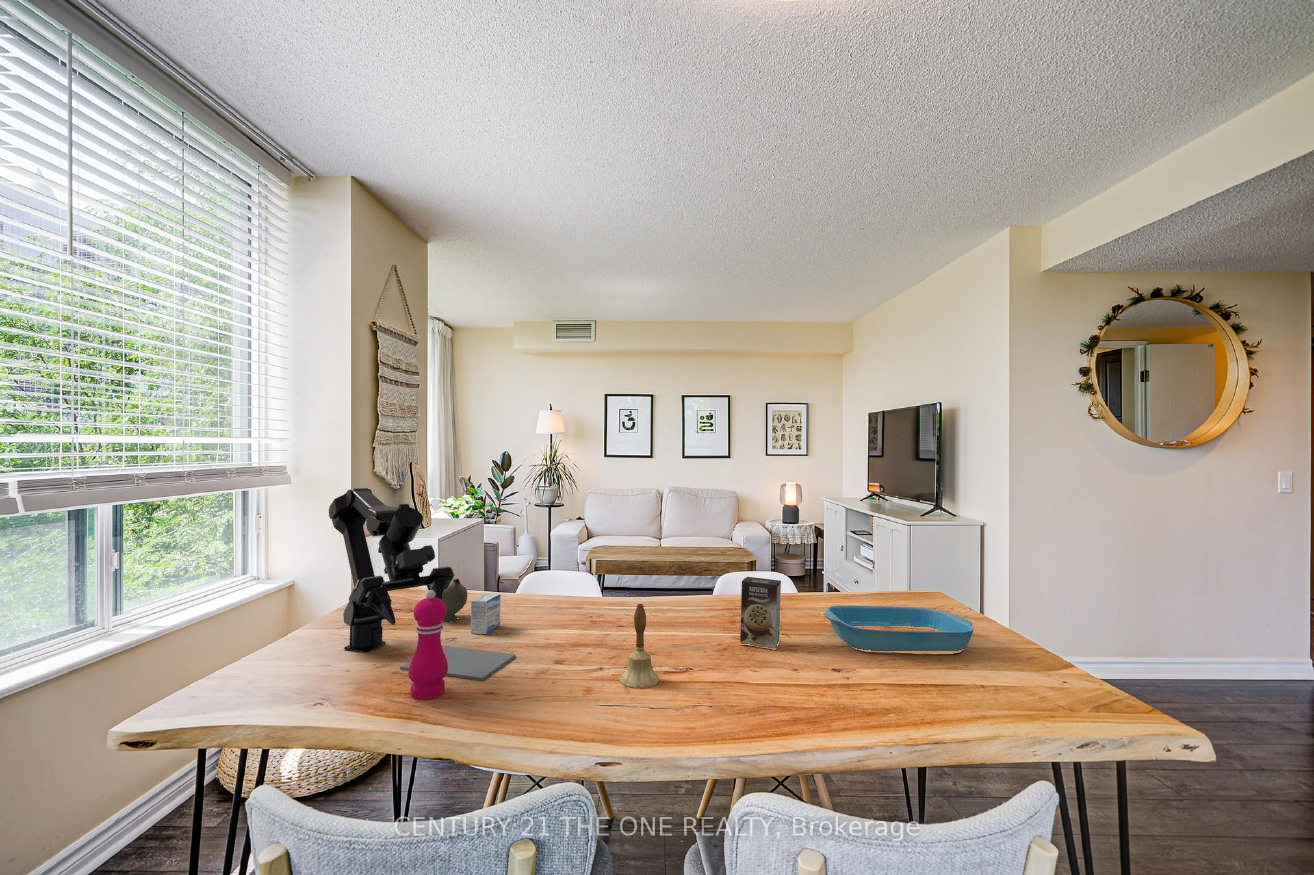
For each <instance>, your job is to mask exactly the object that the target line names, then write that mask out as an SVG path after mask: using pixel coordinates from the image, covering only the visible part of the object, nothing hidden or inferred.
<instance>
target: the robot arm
mask: <svg viewBox="0 0 1314 875" xmlns="http://www.w3.org/2000/svg"><path fill="white" fill-rule="evenodd" d="M328 517H329V519H330V520H331V522H332V525H333V528H334V529H336V531H338V532H339V533H340V534H341V535H342V536H343V541H344V546H345V550H346V554H347V558H348V559H347V560H348V564H349V569H350V573H351V577H352V583H353V588H352V590H351V593H350V594H349V597H348V603H347V605H346V607H345V609H344V611H343V613H342V614H343V616H342V617H343V623H344V624H346V625H348V626H349V644H348V645H346V646H344V648H343V649H344V650H345V651H352V652H353V651H355V652H362V653H368V652H370V651H372V650H375V649H377V648H379V647H381V646H383V645H385V644H386V643H387V642H386V640H383V629H384V628H383V626H382V624H383V623H382V621H384V620H386V621H387V622H389V624H390V625H391V626H395V624H396V618H395V613H394V611H393V608H392V607H393V606H392V599H391V596H390V594H389V592H391V591H398V590H399V591H400V590H407V589H412V588H413V589H415V588H419V587H424V586H426V588H427V591H429V590H433V591H434V592H435V598H439V599H441V600H442V593H443V591H444V590H445V589H447V588H448V586H449V584H450V582H451V581H452V579H454V577H455V572H454V569H453V568H452V567H451V566H441V567H439V566H438V567H434V568H432V570H431V571H430V573H429V575H422V576H421V575H420V574H421V573H422V574H423V571H424V566H425V565H428V563H430V562H432V561H434V560H435V558H436V553H435V550H434V548H433V545H432V544H431V545H430V544H429V545H424V546H423V547H421V548H413V549H411V546H410V542H413V541H414V539H415V537H416V535H417V533H418V532H419V529H420V527H421V525H422V523H423V521H424V517H423V513H421V512H420V511H418V510H417V509H416V508H413V507H410V505H409V503H401V504H398V506H397V507H396V506H388V505H386V504H385V503H384V502H382V501H381V500H380V498H378V497H377V496H376V495H374V494H373V492H372V489H370V488H368V487H363V488H361V487H360V488H357V487H356V488H353V487H352V488H351V489H347V491H345V493H344V494H342V495H340V496H338V497H336V498H334V499H333V501H332V502H331V503H330V505H329V508H328ZM365 523H366V524H365ZM365 525H366V530H367V532H368V533H369V534H370V536H372V537H381V536H382V537H381V538H380V540H379V541H378V545H379V546H378V549H377V551H378V553H379V554H381V557H382V559H383V563H384V566H385V567H384V569H383V572H384V574H385V575H388V579H389V580H388V581H385V580H384V577H383V576H382V575H377V576H376V575H375V571H374V568H373V563H372V559H371V558H372V557H371V554H370V549H369V545H368V541H367V537H366V532H365V529H364V526H365Z"/></svg>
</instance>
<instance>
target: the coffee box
mask: <svg viewBox="0 0 1314 875" xmlns="http://www.w3.org/2000/svg"><path fill="white" fill-rule="evenodd" d="M781 592H782V581H781V580H780V579H770V578H763V577H761V578H760V577H754V576H746V577H745V578H744V579H742V580H741V593H740V594H741V599H740V602H741V604H740V633H739V634H740V636H739V637H740V638H739V644H740V643H741V644H750V645H754V646H759V647H768V648H776V647H777V644H778V642H780V630H781V629H780V627H781V626H780V624H781V618H780V617H781V595H782V594H781ZM777 648H778V647H777ZM777 648H776V649H777Z"/></svg>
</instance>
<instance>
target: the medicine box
mask: <svg viewBox="0 0 1314 875" xmlns="http://www.w3.org/2000/svg"><path fill="white" fill-rule="evenodd" d="M501 595H502V594H500V593H485V594H483V595H481V596H479V597H477V598H475V599H473V600H471V601H470V602H471V604H470V634H474V635H483V634H486V635H488V634H489V633H491V632H492V631H494V630H495V629H497V628H498V627H500V626H501ZM496 627H497V628H496ZM493 629H494V630H493ZM490 631H491V632H490ZM487 633H488V634H487Z"/></svg>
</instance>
